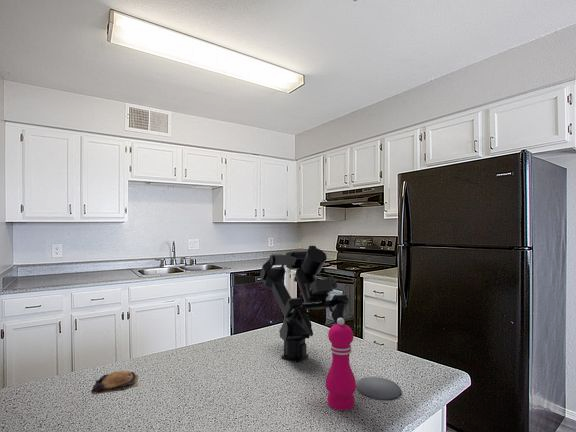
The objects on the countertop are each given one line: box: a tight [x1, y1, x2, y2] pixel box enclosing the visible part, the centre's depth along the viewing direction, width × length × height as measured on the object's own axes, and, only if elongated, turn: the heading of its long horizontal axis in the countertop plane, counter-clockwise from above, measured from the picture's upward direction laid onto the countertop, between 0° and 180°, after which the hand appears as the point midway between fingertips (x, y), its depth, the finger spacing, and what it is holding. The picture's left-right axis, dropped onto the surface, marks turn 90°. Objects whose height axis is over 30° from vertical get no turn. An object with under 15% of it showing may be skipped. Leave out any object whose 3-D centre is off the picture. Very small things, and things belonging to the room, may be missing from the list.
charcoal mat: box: [356, 376, 401, 401], centre depth 84 cm, size 11×11×1 cm
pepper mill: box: [324, 317, 357, 411], centre depth 77 cm, size 7×7×20 cm
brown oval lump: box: [91, 370, 139, 394], centre depth 86 cm, size 11×8×4 cm
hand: (327, 333), depth 86 cm, fingers open, 9 cm apart
